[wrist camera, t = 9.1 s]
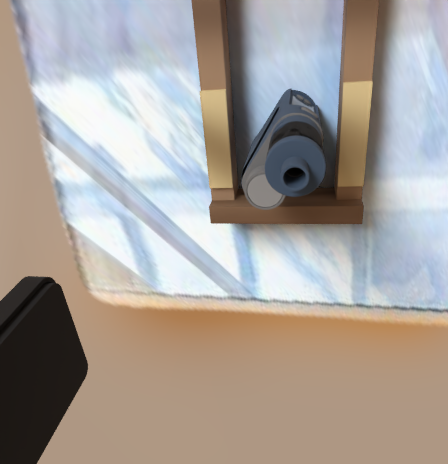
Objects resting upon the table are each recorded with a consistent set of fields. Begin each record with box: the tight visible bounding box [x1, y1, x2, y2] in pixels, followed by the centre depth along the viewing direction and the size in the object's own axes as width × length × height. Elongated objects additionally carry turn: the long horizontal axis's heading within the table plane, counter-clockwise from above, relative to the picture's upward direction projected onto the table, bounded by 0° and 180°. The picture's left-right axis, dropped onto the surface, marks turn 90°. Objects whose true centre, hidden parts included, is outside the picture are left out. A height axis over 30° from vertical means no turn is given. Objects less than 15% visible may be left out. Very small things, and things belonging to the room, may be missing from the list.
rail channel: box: [192, 0, 379, 224], centre depth 21 cm, size 24×10×3 cm, turn 5°
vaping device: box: [241, 89, 326, 210], centre depth 21 cm, size 3×5×12 cm, turn 150°
